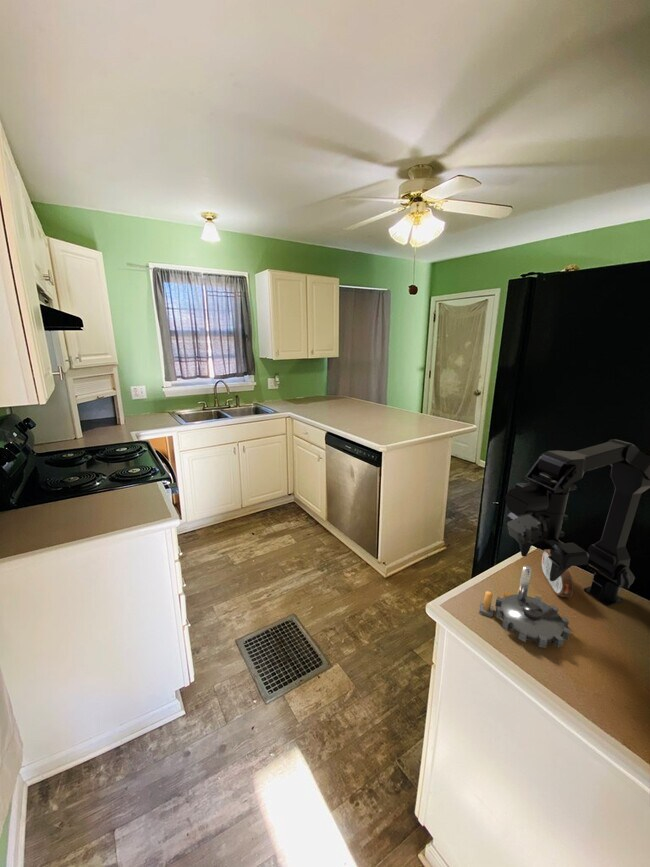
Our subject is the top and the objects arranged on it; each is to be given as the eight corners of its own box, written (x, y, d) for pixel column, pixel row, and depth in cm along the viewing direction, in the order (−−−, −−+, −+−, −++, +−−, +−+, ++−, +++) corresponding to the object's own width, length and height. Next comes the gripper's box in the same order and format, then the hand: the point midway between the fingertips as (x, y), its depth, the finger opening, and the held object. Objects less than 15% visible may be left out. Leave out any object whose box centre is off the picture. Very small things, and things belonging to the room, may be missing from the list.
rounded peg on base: (492, 609, 90) (496, 591, 88) (492, 617, 87) (495, 599, 86) (479, 605, 91) (483, 587, 90) (479, 612, 89) (482, 595, 87)
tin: (571, 604, 92) (578, 576, 90) (557, 602, 93) (564, 574, 91) (548, 568, 107) (554, 544, 104) (536, 567, 107) (542, 542, 105)
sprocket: (527, 592, 94) (535, 557, 91) (585, 638, 80) (596, 598, 77) (480, 604, 89) (487, 568, 87) (532, 655, 75) (542, 614, 73)
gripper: (491, 492, 87) (483, 547, 92) (549, 532, 70) (535, 599, 74) (532, 489, 89) (521, 544, 93) (598, 528, 71) (582, 594, 76)
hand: (537, 567), depth 84 cm, fingers open, 9 cm apart
